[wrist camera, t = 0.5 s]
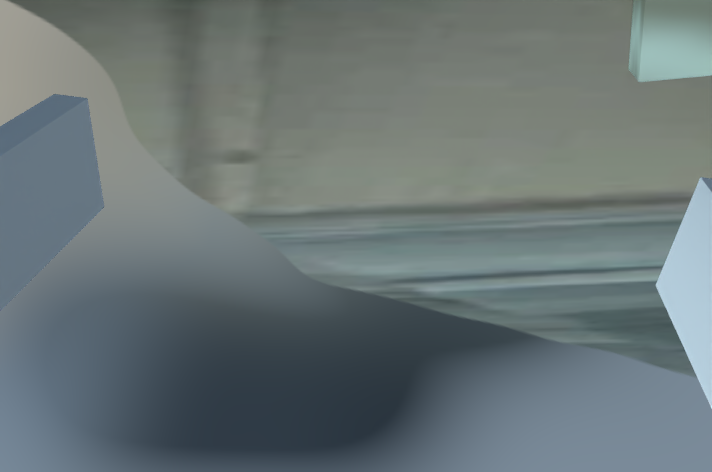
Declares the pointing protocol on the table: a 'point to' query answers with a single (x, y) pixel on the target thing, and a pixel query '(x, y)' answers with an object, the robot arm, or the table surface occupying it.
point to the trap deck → (671, 39)
